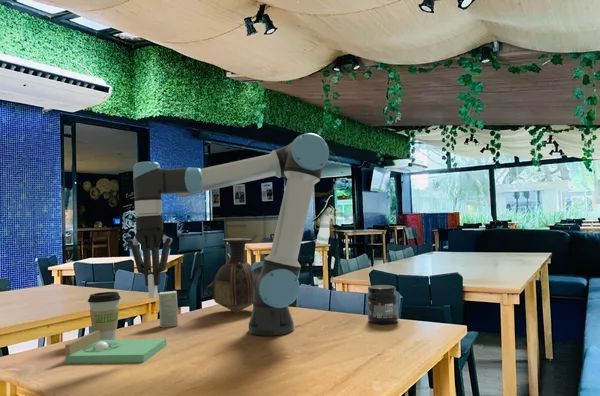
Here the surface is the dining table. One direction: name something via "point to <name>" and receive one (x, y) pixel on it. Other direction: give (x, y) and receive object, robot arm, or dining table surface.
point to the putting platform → (111, 350)
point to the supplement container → (382, 304)
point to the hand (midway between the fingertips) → (153, 296)
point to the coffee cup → (104, 313)
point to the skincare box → (168, 309)
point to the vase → (234, 279)
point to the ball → (101, 346)
